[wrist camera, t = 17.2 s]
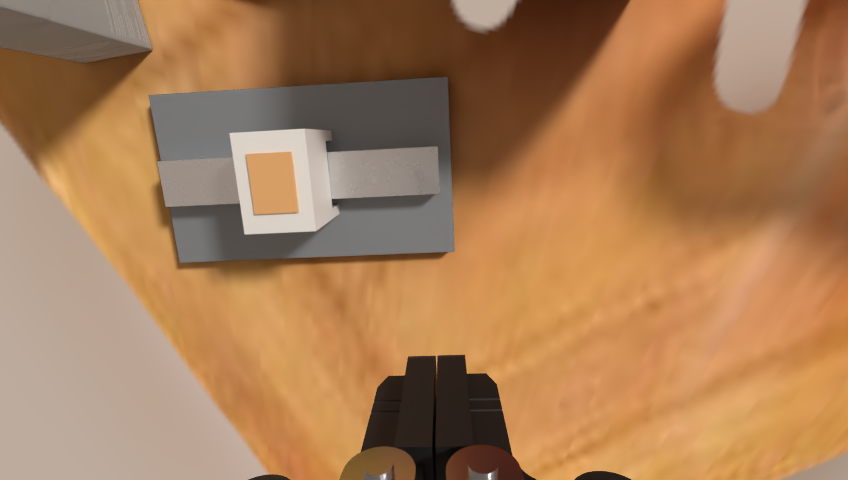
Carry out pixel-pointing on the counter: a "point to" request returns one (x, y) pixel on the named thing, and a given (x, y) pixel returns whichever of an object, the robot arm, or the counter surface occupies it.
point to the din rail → (346, 174)
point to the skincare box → (74, 28)
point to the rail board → (351, 130)
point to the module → (283, 180)
